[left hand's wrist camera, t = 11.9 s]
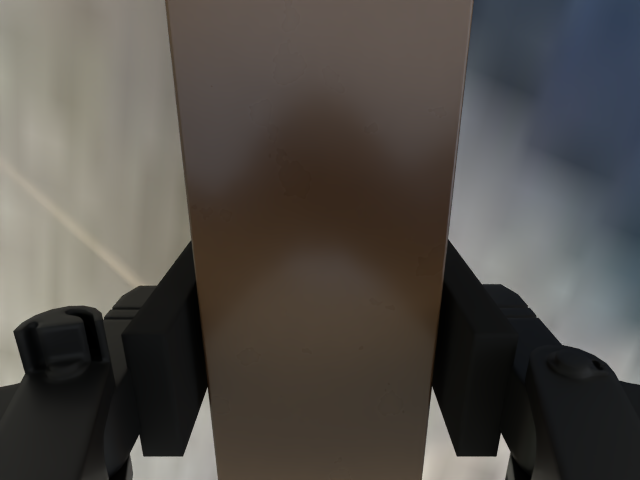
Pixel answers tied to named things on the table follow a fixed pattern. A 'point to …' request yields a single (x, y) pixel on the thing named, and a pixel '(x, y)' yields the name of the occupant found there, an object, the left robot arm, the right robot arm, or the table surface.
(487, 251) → the table surface
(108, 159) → the table surface
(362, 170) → the beam
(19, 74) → the table surface
